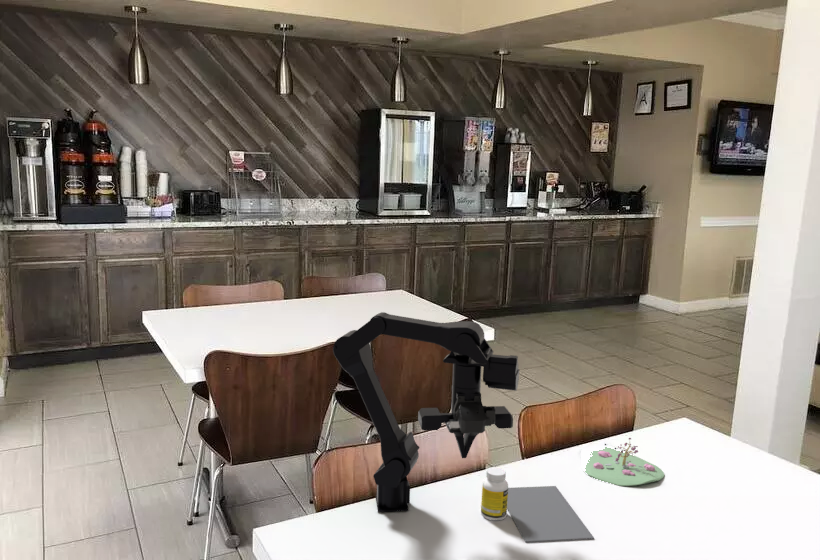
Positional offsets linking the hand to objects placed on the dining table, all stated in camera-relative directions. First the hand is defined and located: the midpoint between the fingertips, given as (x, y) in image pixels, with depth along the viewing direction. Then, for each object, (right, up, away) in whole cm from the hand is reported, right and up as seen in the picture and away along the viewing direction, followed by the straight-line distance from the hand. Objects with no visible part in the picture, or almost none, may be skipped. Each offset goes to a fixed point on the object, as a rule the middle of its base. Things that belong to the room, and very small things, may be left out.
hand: (463, 457), depth 136 cm
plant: (+40, -10, +29) cm, 51 cm away
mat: (+17, -13, +4) cm, 22 cm away
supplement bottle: (+7, -13, +3) cm, 15 cm away
